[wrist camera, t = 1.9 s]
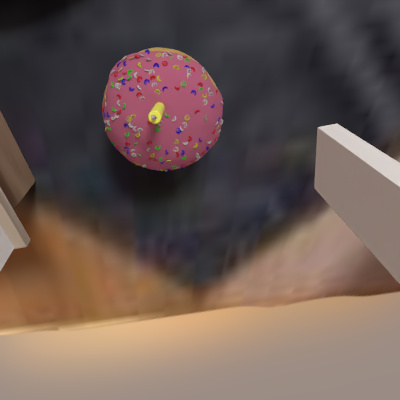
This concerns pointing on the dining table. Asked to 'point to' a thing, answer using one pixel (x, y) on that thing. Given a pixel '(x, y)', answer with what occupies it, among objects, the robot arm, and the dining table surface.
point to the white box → (12, 186)
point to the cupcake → (161, 109)
